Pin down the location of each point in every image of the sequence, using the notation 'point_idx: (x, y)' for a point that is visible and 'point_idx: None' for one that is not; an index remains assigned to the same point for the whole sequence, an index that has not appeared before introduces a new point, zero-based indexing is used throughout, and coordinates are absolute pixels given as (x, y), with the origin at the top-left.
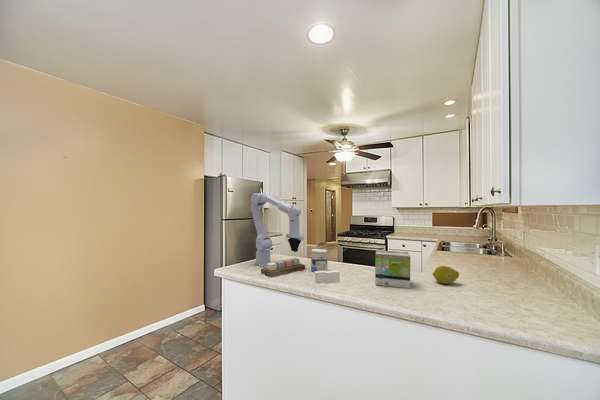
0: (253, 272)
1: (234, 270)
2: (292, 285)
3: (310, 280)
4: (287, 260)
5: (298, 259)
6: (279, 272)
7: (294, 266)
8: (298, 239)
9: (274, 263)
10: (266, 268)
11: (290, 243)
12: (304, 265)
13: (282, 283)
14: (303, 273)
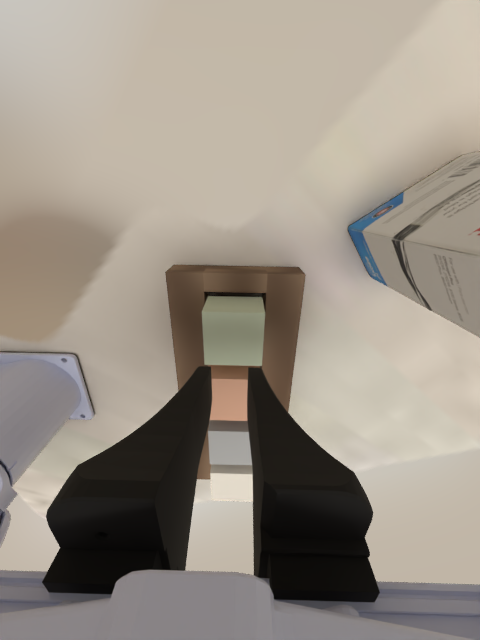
0: None
1: None
2: (420, 455)
3: (458, 378)
4: (234, 400)
5: (264, 322)
6: None
7: (278, 353)
8: (392, 602)
9: (241, 478)
10: (202, 464)
11: (190, 506)
12: (303, 280)
13: (370, 465)
14: (353, 333)
